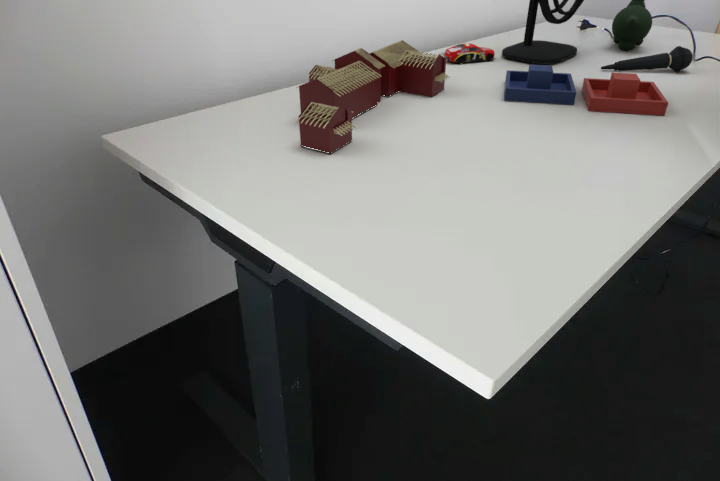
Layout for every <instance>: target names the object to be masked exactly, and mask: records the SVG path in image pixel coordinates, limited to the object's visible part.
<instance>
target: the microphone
mask: <svg viewBox="0 0 720 481" xmlns="http://www.w3.org/2000/svg"><path fill="white" fill-rule="evenodd" d="M693 59H694V58H693V52H692V51H691V49H689V48H688V47H683V46H681V45H678V46H675V47H674V48H673V49H671V51H670V52H669V53H668V52H663V53H657V54H652V55H645V56H640V57H639V56H638V57H634V58H628V59H623V60H618V61H615V62H613V63H611V64H606V65H603V66H601V67H600V70H614V72H617V71H618V72H627V71H645V70H646V71H649V70H651V71H652V70H659V69H660V70H661V69H670V70H672V71H673V72H675V73H679V72H681V71H683V70H685V69H687V68H689V66H690V65H691V64H692V62H693Z"/></svg>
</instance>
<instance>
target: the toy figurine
mask: <svg viewBox="0 0 720 481" xmlns="http://www.w3.org/2000/svg"><path fill="white" fill-rule="evenodd" d="M652 26H653V17H652V14H651V12H650V11H649V10H648V9H647V8H646V3H645V0H630V2H629V3H628V4H627V5H626V6H625V7H624V8H622V9H621V10H619V12H618V13H616V15H615V16H614V18H613V20H612V24H611V32H612V35H613V38H612V40H613V43H614V44H615V45H617V49H618V50H619V51H621V52H627V53H628V52H631V51H634V50H635V48H636V47H637V46H641V45H643V43H644V39H645V38H646V37H647V36H648V35H649V33H650V32H651V29H652Z"/></svg>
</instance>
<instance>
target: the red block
mask: <svg viewBox="0 0 720 481" xmlns="http://www.w3.org/2000/svg"><path fill="white" fill-rule="evenodd" d="M609 79H610V82H609V86H608V91H607V97H608V98H621V99H636V95H637V92H638V88H639V84H640V81H641V79H640V77H639V75H638V74H637V73H628V72H611V75H610V78H609Z"/></svg>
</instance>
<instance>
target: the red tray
mask: <svg viewBox="0 0 720 481" xmlns="http://www.w3.org/2000/svg"><path fill="white" fill-rule="evenodd" d="M609 82H610V78H608V79H607V78H592V77H591V78H589V77H584V78H583V81H582V86H581V93H582V96H583V99H584V102H585V105H586V109H587V111H588V112H599V113H612V114H613V113H616V114H630V115H644V116H645V115H646V116H658V115H659V116H661V117H666V116H665V115H666V112H667V109H668V106H669V101H668V99H667V98H666V97H665V95H664V94H663V93H662V92H661V90H660V89H659V87H658V86H657V85H656V83H655V82H654V81H649V80H648V81H647V80H646V81H645V80H643V81H642V80H640V84H639V88H638V92H637V95H636V99H621V98H608V97H607V91H608V86H609Z"/></svg>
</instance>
